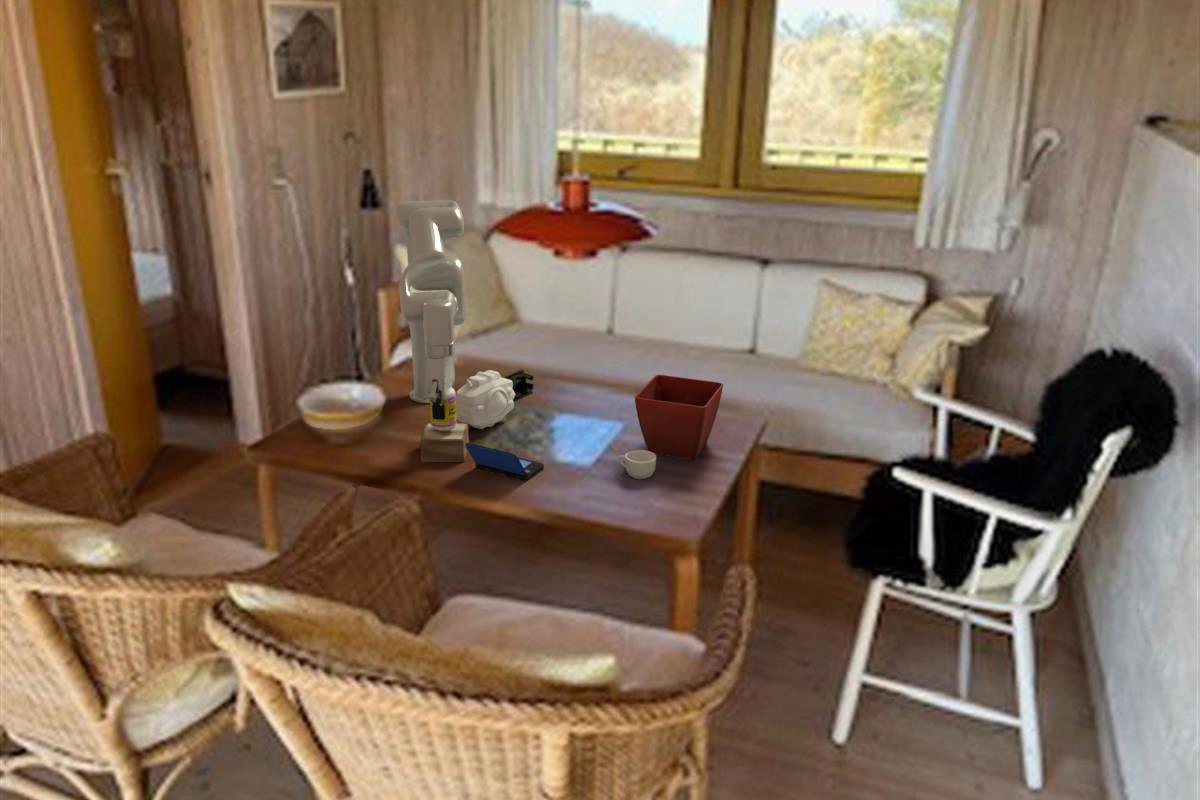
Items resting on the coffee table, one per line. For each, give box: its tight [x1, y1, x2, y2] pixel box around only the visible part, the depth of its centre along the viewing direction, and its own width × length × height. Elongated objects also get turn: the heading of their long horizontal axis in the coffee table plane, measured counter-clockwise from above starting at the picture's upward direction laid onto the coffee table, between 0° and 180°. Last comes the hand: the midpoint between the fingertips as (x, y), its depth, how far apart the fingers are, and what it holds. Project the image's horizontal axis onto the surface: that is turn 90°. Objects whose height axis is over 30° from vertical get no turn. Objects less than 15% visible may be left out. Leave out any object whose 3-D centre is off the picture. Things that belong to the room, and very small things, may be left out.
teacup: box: [617, 449, 657, 480], centre depth 232 cm, size 10×8×5 cm
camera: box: [455, 369, 515, 430], centre depth 258 cm, size 11×18×16 cm, turn 143°
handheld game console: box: [465, 442, 545, 482], centre depth 232 cm, size 16×13×9 cm
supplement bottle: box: [429, 381, 458, 430], centre depth 238 cm, size 7×7×13 cm
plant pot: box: [634, 374, 724, 461], centre depth 245 cm, size 19×19×17 cm
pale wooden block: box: [419, 423, 470, 463], centre depth 242 cm, size 11×11×6 cm
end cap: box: [501, 369, 534, 402], centre depth 282 cm, size 10×7×7 cm
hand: (443, 413), depth 239 cm, fingers closed on supplement bottle, 6 cm apart
